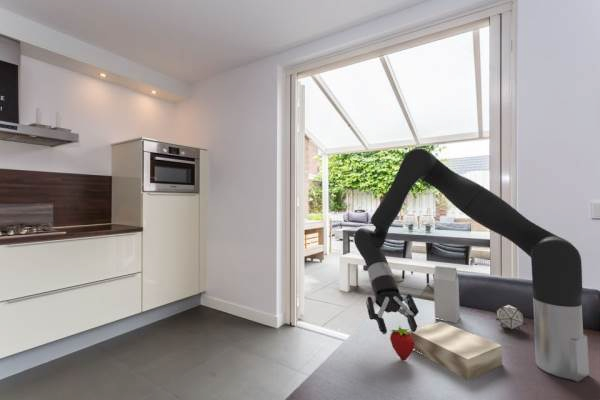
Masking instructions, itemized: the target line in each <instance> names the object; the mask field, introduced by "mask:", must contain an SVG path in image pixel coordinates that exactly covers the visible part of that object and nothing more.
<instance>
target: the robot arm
mask: <svg viewBox="0 0 600 400" xmlns="http://www.w3.org/2000/svg"><path fill="white" fill-rule="evenodd" d="M419 180H420V181H423V182H425V183H427V184H428V185H430V186H432V187H433V188H435V189H436V190H437V191H439V192H440V193H441V194H442V195H443V196H444V197H445V198H446V199H447V200H448V202H450V203H451V204H452V205H453V206H454V207H456V208H457V210H459V211H460V212H461V213H463V214H464V215H466V216H467V217H469V218H470V219H471V220H472V221H474V222H476V223H478V224H479V225H481V226H483V227H484V228H486V229H488V230H490V231H492V232H494V233H496V234H498V235H499V236H502V237H504V238H505V239H507V240H508V241H510V242H511V243H513V244H514V245H516V246H517V247H518V248H519V249H521V250H522V251H523V252H524V253H525V254H526V255H528V256H529V257H530V260H531V279H532V280H531V282H532V284H531V285H532V287H531V288H532V289H531V290H532V304H533V326H534V329H533V330H534V345H535V346H534V348H535V349H534V351H535V365H537V367H538V368H540V370H542V371H544V372H546V373H548V374H551V375H553V376H555V377H559V378H563V379H567V380H572V381H574V382H578V383H579V382H580V381H581V380H584V378H586V377H588V376H589V375H590V370H589V368H590V367H589V350H588V348H589V347H588V336H587V335H586V334H584V327H583V326H584V325H583V307H582V306H583V304H582V303H583V301H582V297H583V296H582V295H583V268H582V267H583V266H582V257H581V254H580V252H579V250H578V248H576V246H574V245H573V243H571V242H570V241H569V240H567V239H565V238H563V237H561V236H558V235H556V234H554V233H553V232H551V231H549V230H547V229H545V228H543V227H541V226H540V225H537V224H536V223H535V222H532V221H531V220H529V219H527V217H525V216H524V215H523V214H522V213H520V212H519V211H517V210H516V208H514V207H513V206H512V205H510V204H509V203H508V202H506V201H505V200H504V199H502V198H501V197H500V196H498V195H496V194H495V193H493V192H492V191H490V190H489V189H487V188H486V187H484V186H482V185H481V184H479V183H477V182H476V181H473V180H472V179H469V178H467V177H465V176H463V175H461V174H458V173H457V172H455V171H454V170H452V169H450V168H449V167H448V166H446V165H445V164H444V163H443V162H442V161H440V160H439V159H438V158H437V157H436V156H435V155H434V154H433V153H432V152H430V151H428V150H427V149H425V148H420V147H417V148H413V149H410V150H409V151H408V152H407V153H406V154H405V155H404V157H403V159H402V161H401V163H400V166H399V169H398V170H397V173H396V175H395V177H394V178H393V180H392V182H391V185H390V187H389V188H388V190H387V192H386V194H385V196H384V197H383V199H382V201H381V202H380V204H378V206H377V208H376V209H375V210H374V212H373V214H372V216H371V217H370V223H371V224H372V225H373V226H374V227H375V229H374V230H370V229H369V228H365V227H364V228H363V227H362V228H361V227H360V228H359V229H357V230H356V231H355V233H354V237H353V240H354V245H355V247H356V249H357V251H358V252H359V254H360V256H361V257H362V259H363V260H364V262H365V266H366V269H367V273H368V279H369V282H370V285H371V288H372V292H373V294H374V295H373V296H374V298H373V297H371V296H367V298H366V300H365V301H366V302H365V304H366V307H367V308H366V309H367V312H368V317H369V320H374V321H376V323H377V327H378V329H379V331H380V333H382V335H386V334H387V332H388V330H387V327H386V323H385V320H384V317H383V316H384V313H385V312H386V313H387V314H388V313H397V312H398V313H400V315H403V316H404V317H405V318H406V320H407V323H408V326H409V330H410V331H412V332H415V331H416V329H418V325H417V324H418V323H417V322H416V320H415V317H416V316H417V315H418V314H419V313H420V312H419V309H418V307H417V305H416V303H415V301H414V298H413V296H412V294H410V293H408V294H407V295H403V296H402V295H401V293H400V291H399V287H398V284H397V282H396V279H395V275H394V274H393V271H392V268H391V267H390V265H389V263H388V260H387V257H386V254H385V253H384V252H383V250H381V249H382V247H383V246H384V244H385V241H386V239H387V237H388V236H387V235H388V232H389V229H390V227H391V226H392V224H393V222H395V220H396V218H397V217H398V215H399V214H400V212H401V210H402V208H403V205H404V204H405V201H406V199H407V196H408V194H409V193H410V191H411V190H412V188H413V187H414V185H415V184H416V183H417V182H418V181H419ZM403 302H404V303H403ZM374 305H377V306H378V307H379V310H378V312H377V313H376V311H375V307H374Z"/></svg>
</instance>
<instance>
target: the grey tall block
mask: <svg viewBox="0 0 600 400" xmlns="http://www.w3.org/2000/svg"><path fill="white" fill-rule="evenodd" d="M433 274H434V275H433V298H434V302H433V303H434V318H435V317H436V318H439V319H443V320H446V321H445V322H447V321H450V322H449V323H452V322H454V324H457V323H458V321H459V319H460V317H461V316H460V315H461V313H460V310H461V309H460V288H459V286H460V285H459V275H458V271H457V267H449V266H441V265H435V269H434V273H433Z"/></svg>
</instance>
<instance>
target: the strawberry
mask: <svg viewBox="0 0 600 400" xmlns="http://www.w3.org/2000/svg"><path fill="white" fill-rule="evenodd" d="M409 331H410V328H409V329H404V328H402V327H401V326H398V329H392V330H391V333H390V338H389V340H390V343H391V346H392V349H393V351H395V353H396V354H397V356H398V357H399V359H400V360H401V361H402V360H403V362H405V361H407V359H408V358H409V357H410V356H411V354H412V353H413V351H414V350H413V349H414V345H415V344H414V339H413V337H412V336H411V335H410V334H409V333H410V332H409Z"/></svg>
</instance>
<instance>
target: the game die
mask: <svg viewBox="0 0 600 400" xmlns="http://www.w3.org/2000/svg"><path fill="white" fill-rule="evenodd" d="M499 306H500V307H499V308H498V309H495V308H494V311H495V312H496V316H497V317H496V318H495V321H499V323H500V326H501V327H502V326H504V327H506V328H508V329H509V330H510V331H509V332H511V333H512V332H513V330H514V329H516V328H517V329H520V328H521V327H520V326H522V325H525V326H527V325H528V324H527V322H525V319H524V317H523V316H525V313H524V312H521V310H520V309H521V308H520V307H514V306H513V305H510V302H509V301H508V302H507V305H504V306H503V305H501V304H500V305H499Z"/></svg>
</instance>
